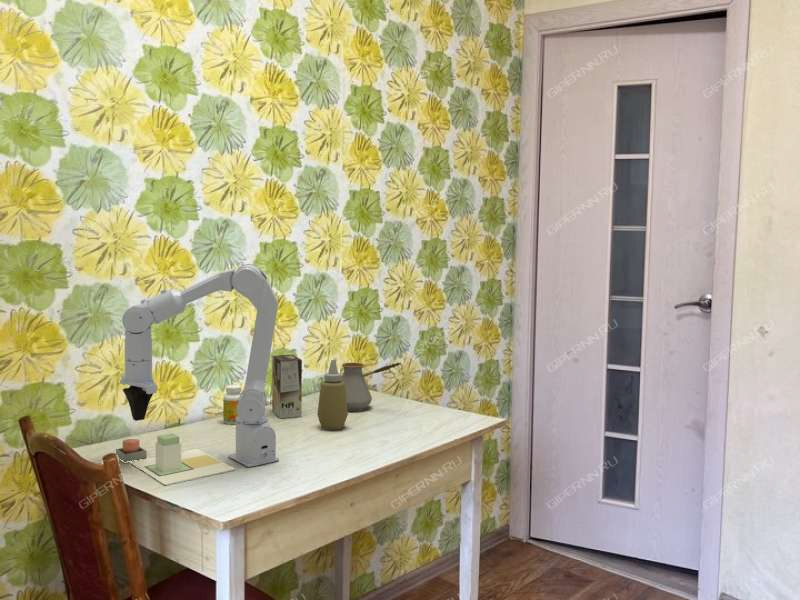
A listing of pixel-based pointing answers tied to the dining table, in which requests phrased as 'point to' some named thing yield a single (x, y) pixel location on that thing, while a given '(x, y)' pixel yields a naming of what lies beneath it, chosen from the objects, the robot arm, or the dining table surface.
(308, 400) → the dining table surface
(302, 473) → the dining table surface
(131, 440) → the button
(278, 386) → the coffee box
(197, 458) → the paper board
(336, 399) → the squeeze bottle
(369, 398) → the coffee pot
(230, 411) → the supplement bottle
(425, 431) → the dining table surface
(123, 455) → the button housing
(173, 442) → the beige boxy piece
